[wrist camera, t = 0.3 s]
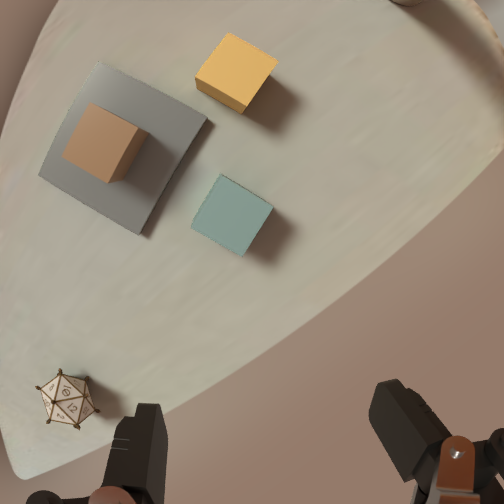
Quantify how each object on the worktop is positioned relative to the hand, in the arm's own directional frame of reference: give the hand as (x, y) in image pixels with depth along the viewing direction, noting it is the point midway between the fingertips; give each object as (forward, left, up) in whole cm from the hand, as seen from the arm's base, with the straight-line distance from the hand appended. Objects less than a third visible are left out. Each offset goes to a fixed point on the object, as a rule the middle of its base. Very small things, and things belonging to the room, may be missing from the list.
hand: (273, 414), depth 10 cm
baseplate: (-3, -16, -25) cm, 30 cm away
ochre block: (-15, -9, -25) cm, 31 cm away
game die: (+29, -9, -25) cm, 39 cm away
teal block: (-3, -2, -25) cm, 26 cm away
